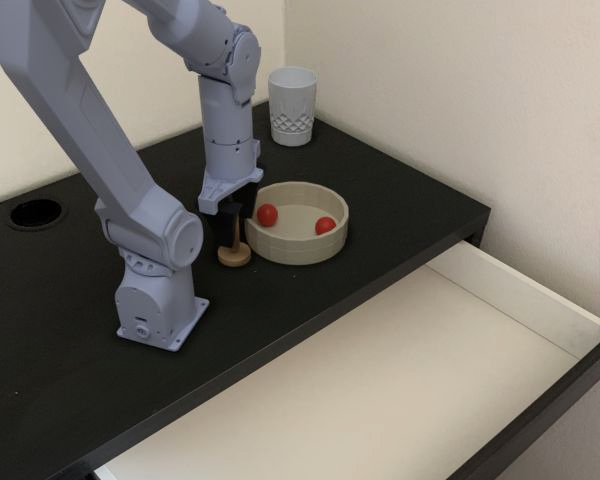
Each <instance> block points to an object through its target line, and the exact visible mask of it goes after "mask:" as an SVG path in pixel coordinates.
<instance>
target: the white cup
mask: <svg viewBox="0 0 600 480" xmlns="http://www.w3.org/2000/svg"><path fill="white" fill-rule="evenodd" d="M318 78H319V77H318V75H317V73H316V72H315V71H313V70H312V69H310V68H306V67H303V66H296V65H288V66H280V67H276V68H274V69H272V70H270V71H269V72H268V74H267V88H268V89H267V90H268V92H267V93H268V108H269V119H270V120H269V121H270V131H271V138H272V140H273V141H274V142H275V143H277V144H278V145H280V146H285V147H300V146H304V145H307V144H308V143H310V142H311V141H312V137H313V126H314V125H313V124H314V121H315V111H316V104H317V103H316V102H317V92H318V91H317V90H318Z"/></svg>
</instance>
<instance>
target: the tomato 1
mask: <svg viewBox="0 0 600 480" xmlns="http://www.w3.org/2000/svg"><path fill="white" fill-rule="evenodd" d="M257 219H258V221H259V222H260V223H261V224H262V225H265V226H270V225H273V224H274V223H275V222H276V221H277V219H278V211H277V209H276V208H275V207H274V206H273V205H271V204H263V205H262V206H260V207H259V209H258V211H257Z"/></svg>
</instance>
